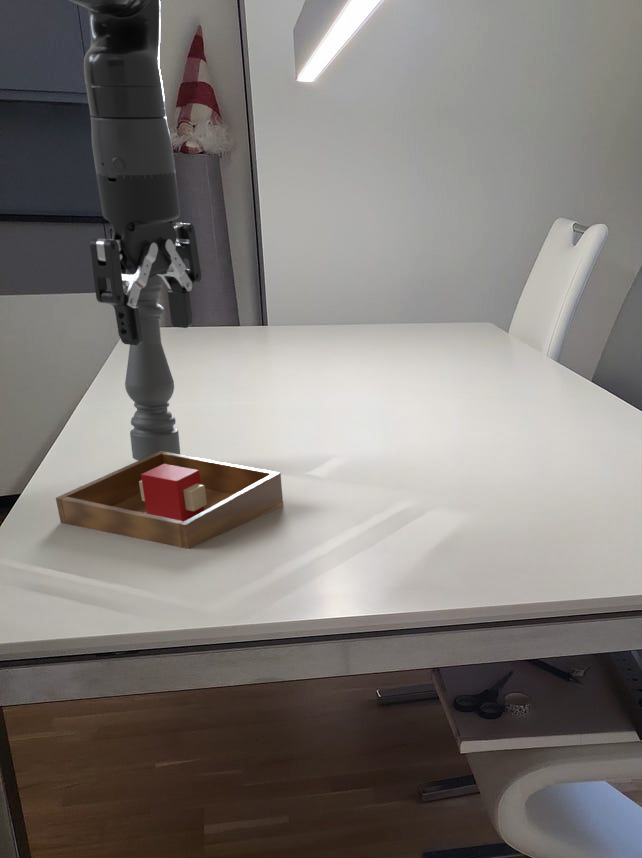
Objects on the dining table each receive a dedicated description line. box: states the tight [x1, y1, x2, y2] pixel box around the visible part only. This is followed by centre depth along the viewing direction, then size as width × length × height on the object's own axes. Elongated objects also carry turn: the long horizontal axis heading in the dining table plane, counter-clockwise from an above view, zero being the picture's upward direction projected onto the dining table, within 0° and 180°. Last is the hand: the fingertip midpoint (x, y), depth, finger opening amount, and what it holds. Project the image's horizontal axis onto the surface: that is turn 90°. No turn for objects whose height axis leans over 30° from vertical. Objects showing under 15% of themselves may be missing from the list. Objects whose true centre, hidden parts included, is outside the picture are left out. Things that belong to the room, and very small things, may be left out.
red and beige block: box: [139, 464, 207, 521], centre depth 119 cm, size 7×4×5 cm, turn 66°
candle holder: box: [124, 269, 181, 461], centre depth 134 cm, size 6×6×25 cm
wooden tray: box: [55, 451, 284, 550], centre depth 119 cm, size 18×18×4 cm
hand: (158, 335), depth 110 cm, fingers open, 8 cm apart
